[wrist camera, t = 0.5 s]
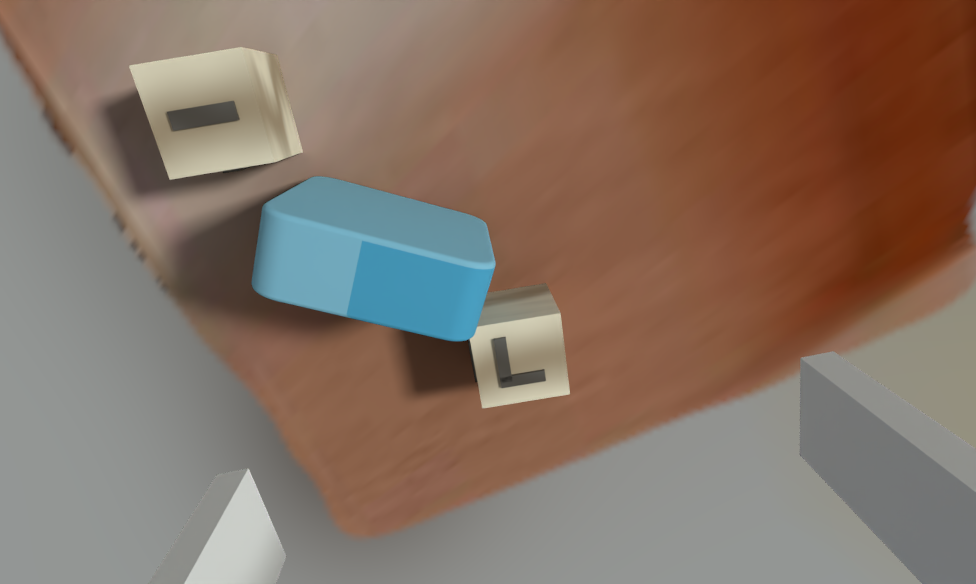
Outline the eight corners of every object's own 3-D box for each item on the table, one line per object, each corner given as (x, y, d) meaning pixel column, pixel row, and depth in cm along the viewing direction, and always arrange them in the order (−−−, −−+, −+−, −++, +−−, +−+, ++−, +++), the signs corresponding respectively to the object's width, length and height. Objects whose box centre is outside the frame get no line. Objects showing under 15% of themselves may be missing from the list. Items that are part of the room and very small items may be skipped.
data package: (304, 235, 38) (240, 294, 27) (315, 172, 36) (252, 206, 25) (469, 277, 40) (475, 348, 28) (486, 218, 38) (499, 269, 27)
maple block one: (180, 71, 34) (123, 66, 28) (277, 55, 34) (240, 46, 28) (212, 170, 36) (165, 184, 30) (303, 155, 36) (274, 166, 30)
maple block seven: (463, 296, 40) (464, 330, 34) (545, 282, 40) (561, 314, 34) (477, 369, 42) (480, 412, 36) (555, 356, 42) (570, 398, 36)
